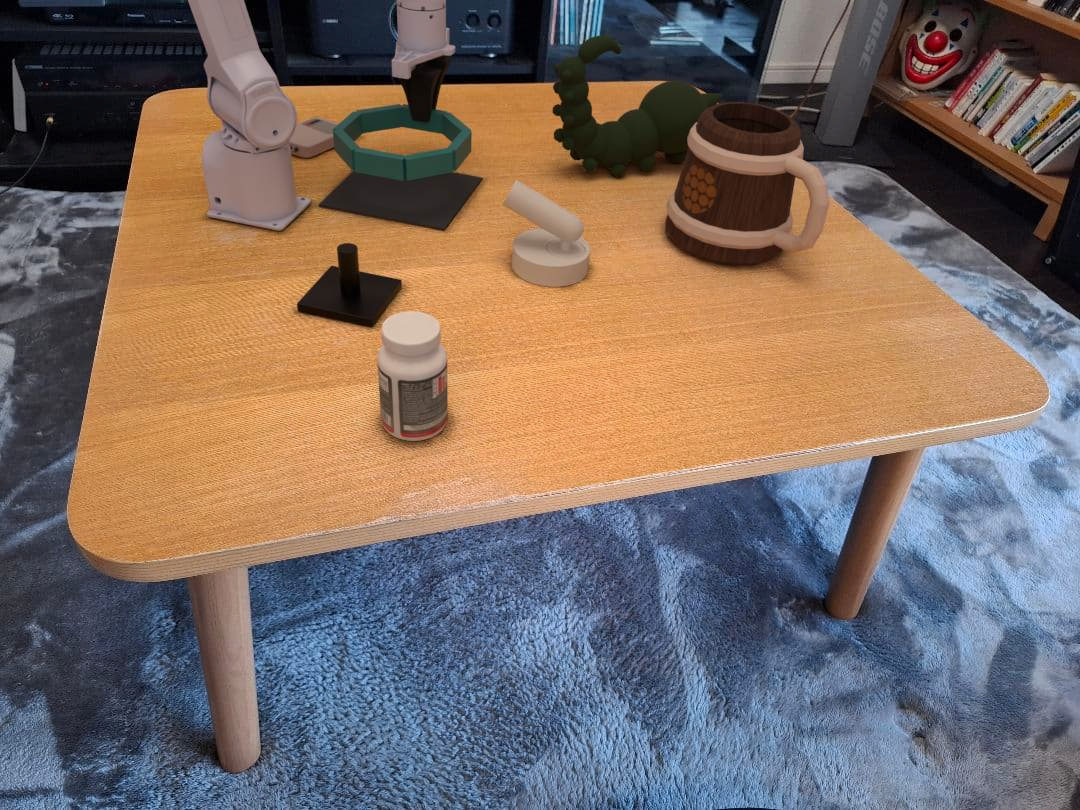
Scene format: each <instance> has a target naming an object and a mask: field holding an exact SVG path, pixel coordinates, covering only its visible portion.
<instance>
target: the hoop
mask: <svg viewBox="0 0 1080 810" xmlns="http://www.w3.org/2000/svg"><path fill="white" fill-rule="evenodd" d="M338 123H339V124H338V125H337V126H336V127H334V128H333V138H334V147H333V148H334V152H335V153H336V154H337V155H338V156H339V158H340V159H341V160H342V161H343V163H344V164H346V165H347V167H348V168H349V169H350V170H351V171H352V172H353V171H355V172H357V173H363V174H368V175H374V176H379V177H385V178H390V179H395V180H401V181H403V180H404V179H406V180H407V181H409V180H414V179H419V178H425V177H430V176H436V175H441V174H446V173H452V172H457V170H458V169H459V168H460V167H461V165H463V163H464V162H465V160H466V159H467V158H468V157H469V155H471V153H472V133H473V132H472V129H471V128H470V127H468V126H467V125H466V124H465V123H464V122H462V120H460V119H459V118H457V116H455V115H454V114H453V113H452V112H448V110H441V109H437V108H436V109H432V111H431V116H430V120H429V122H428V123H425V122H419V121H413V120H412V117H411V113H410V110H409V106H408V103H403V104H400V103H397V104H390V105H382V106H376V107H370V108H361V109H356V110H354V111H352V112H350V113H349V114H348V115H347V116H345V118H343V119H342V121H340V122H338ZM400 128H406V129H411V130H416V131H417V130H418V131H422V132H428V133H434V134H440V135H443V136H444V137H445V138H446V139H447V140H449V141H450V142H451V143H450V144H449V145H448V146H447V147H446V148H445V147H443V148H439V149H433V150H428V151H422V152H417V153H416V152H415V153H411V154H405V155H404V154H401V153H400V154H399V153H394V152H387V151H383V150H376V149H371V148H365V147H360V146H359V144H357V142H356V141H357V140H358V138H359V137H361V135H363V134H367V133H374V132H381V131H386V130H392V129H400Z"/></svg>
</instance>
